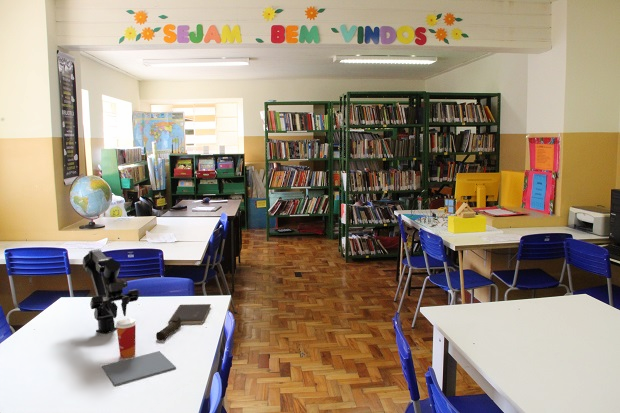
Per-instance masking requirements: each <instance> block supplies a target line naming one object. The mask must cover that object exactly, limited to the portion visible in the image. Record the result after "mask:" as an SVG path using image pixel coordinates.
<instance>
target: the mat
mask: <svg viewBox="0 0 620 413" xmlns="http://www.w3.org/2000/svg"><path fill="white" fill-rule="evenodd" d="M101 368H102V369H103V371H104V372H105V374H106V375H107V377H108V378H109V380H110V381H111V383H112V384H113V386H115V387H116V386H120V385H123V384H126V383H130V382H135V381H137V380H141V379H144V378H148V377H152V376H155V375H159V374H161V373H165V372H168V371H169V372H170V371H172V370H176V369H177V367H176V365H174V364H173V363H172V362H171V360H169V359H168V358H167V356H165V355H164V354H163V353H162V352H161V351H160V350H158V351H154V352H153V351H152V352H149V353H147V354H141V355H139V356H133V357H130V358H125V359H123V360H119V361H115V362H112V363H108V364H107V363H106V364H104V365H101Z"/></svg>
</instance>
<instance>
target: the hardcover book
mask: <svg viewBox="0 0 620 413" xmlns="http://www.w3.org/2000/svg"><path fill="white" fill-rule="evenodd" d="M210 308H211V304H209V303H207V304H205V303H204V304H203V303H202V304H201V303H200V304H199V303H198V304H193V303H192V304H180V305H178V307H177V308H176V309H175V311H174V313H173V314H172V316H171V317H170V319H169V321H168V322H167V325H168V324H171V323H172V320H173V319H174V318H176V317H180V319H181V325H195V324H197V325H198V324H200V325H202V324H203V322H204V321H205V319H206V317H207V314H208V312H209V311H210Z"/></svg>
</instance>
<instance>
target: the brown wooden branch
mask: <svg viewBox="0 0 620 413" xmlns="http://www.w3.org/2000/svg"><path fill="white" fill-rule="evenodd" d="M181 325H182V324H181V319H180V317H176V318H174V319H173V320H172V323H171V324H169V325H168V324H167V326H165V327H164V328H162V329H161V330H160V331H157V332H156V334H155V335H156V336H155V338H156V340H157V341H164V340H165V339H166V338H167V337H168V336H169V335H170V334H172V332H174V331H175V330H178V329H179V328H180V327H181Z"/></svg>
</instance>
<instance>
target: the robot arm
mask: <svg viewBox="0 0 620 413" xmlns="http://www.w3.org/2000/svg"><path fill="white" fill-rule="evenodd" d="M82 267H83V269H84V270H85V273H86V274H88V275H89V276H90V277H91V280H92V284H93V288H94V292H95V295H96V296H95V295H94V296H92V297H91V299H90V303H89V305H90V309H91V310H94V312H93V315H94V319H95V320H96V321H97V326H98V329H96V330H95V332H96V333H101V334H108V333H111V332H113V331H116V330H117V327H116V324H115V319H116V318H117V316H118V308H119V307H118V305H117V304H116V303H115V302H117V301H121V304H120V305H121V309H122V310H121V311H122V315H123V316H124V317H126V316H127V315H126V314H127V306H128V305H129V303H131V302H136V301H138V299H139V297H140V291H139V289H138V288H134V289H129V290H128V291H127V293H125V294H123V292H124V291H123V290H124V289H125V288H127V287H128V282H127V279H121V280H120V281H118V275H119V272H120V269H121V262H119V261H118V260H116V259H114V258H113V257H111V256H110V257H109V256H106V255H105V254H104V253H103V252H102V249H91V250H89V251H88V253H87V254H86V255H85V256H84V257H83V258H82Z"/></svg>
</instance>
